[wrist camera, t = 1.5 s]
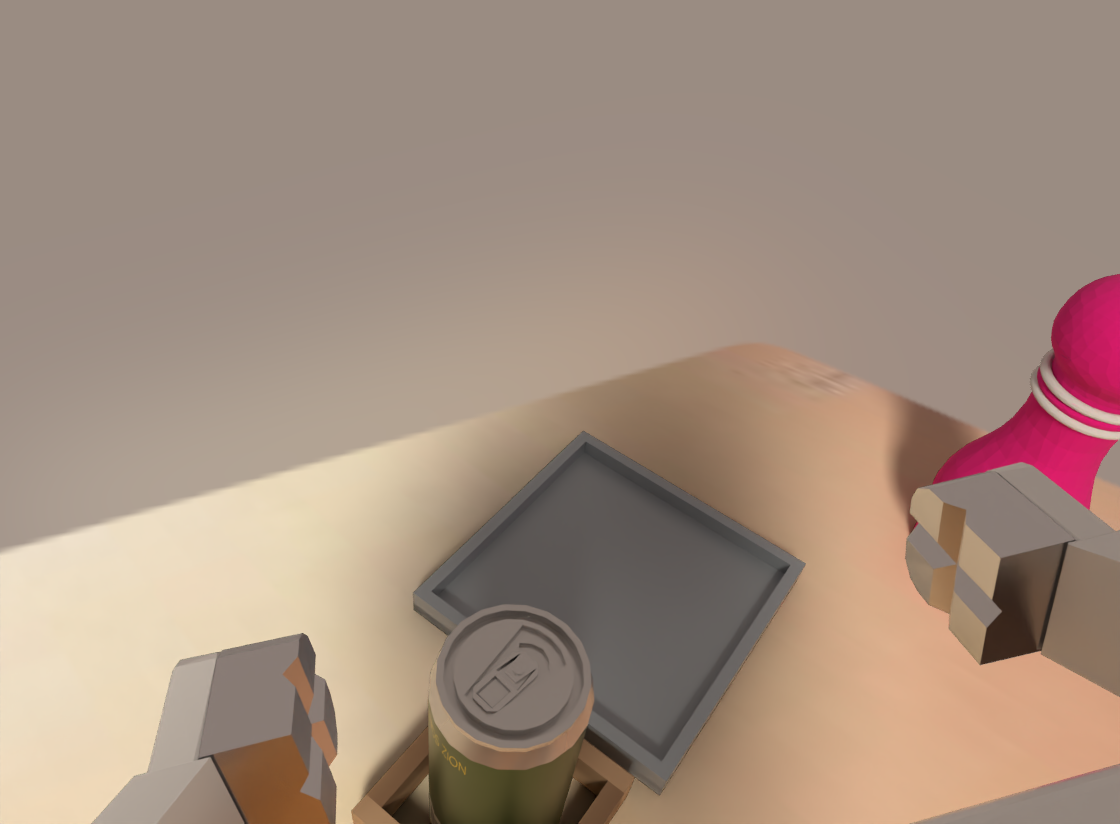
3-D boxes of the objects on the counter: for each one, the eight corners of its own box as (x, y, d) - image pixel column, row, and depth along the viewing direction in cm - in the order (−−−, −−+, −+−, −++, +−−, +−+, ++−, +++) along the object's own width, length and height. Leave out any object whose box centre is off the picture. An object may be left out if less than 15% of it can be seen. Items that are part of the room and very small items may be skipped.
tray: (413, 609, 41) (413, 592, 40) (580, 448, 50) (583, 430, 49) (659, 795, 36) (666, 781, 35) (797, 580, 45) (805, 563, 44)
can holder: (354, 829, 34) (351, 810, 33) (482, 684, 39) (484, 663, 38) (510, 971, 31) (513, 957, 30) (627, 796, 36) (634, 777, 35)
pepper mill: (878, 515, 49) (1058, 215, 35) (981, 496, 51) (1191, 204, 37) (950, 624, 44) (1193, 328, 30) (1061, 598, 46) (1338, 308, 32)
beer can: (492, 916, 33) (513, 795, 24) (402, 811, 35) (391, 669, 26) (585, 813, 36) (633, 674, 27) (496, 723, 38) (514, 570, 29)
